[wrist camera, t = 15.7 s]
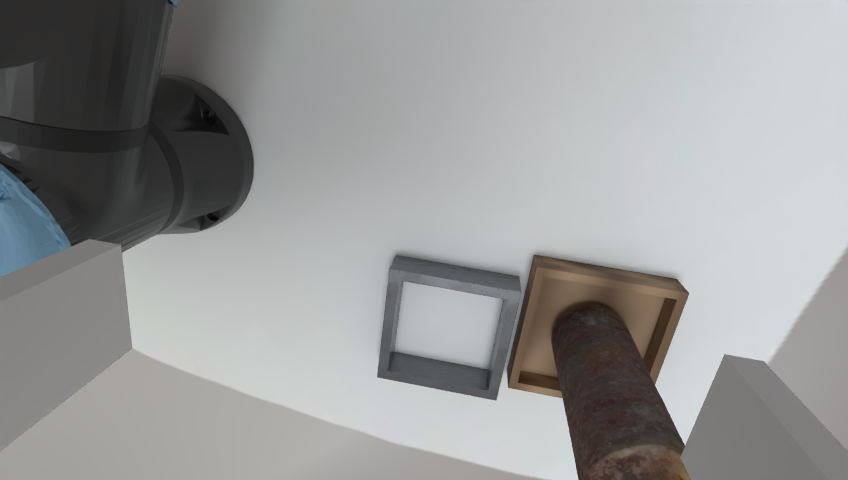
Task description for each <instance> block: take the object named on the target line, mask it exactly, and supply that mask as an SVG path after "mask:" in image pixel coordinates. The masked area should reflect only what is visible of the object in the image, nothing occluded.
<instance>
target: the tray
mask: <svg viewBox="0 0 848 480" xmlns="http://www.w3.org/2000/svg"><path fill="white" fill-rule="evenodd" d="M688 295H689V292H688V291H687V290H686V289H685V288H684V287H683V286H682V285H681V284H680V282H679V281H678V280H677V279H672V278H666V277H660V276H654V275H649V274H643V273H637V272H631V271H625V270H619V269H613V268H608V267H602V266H596V265H590V264H584V263H578V262H572V261H567V260H561V259H555V258H549V257H543V256H537V255H534V258H533V262H532V266H531V270H530V275H529V279H528V283H527V287H526V292H525V296H524V300H523V304H522V309H521V313H520V317H519V321H518V326H517V330H516V334H515V339H514V343H513V347H512V351H511V356H510V360H509V364H508V368H507V377H508V388H512V389H518V390H523V391H528V392H533V393H538V394H544V395H549V396H554V397H559V398H563V397H562V393H561V388H560V384H559V379H558V374H557V370H556V365H555V360H554V355H553V349H552V343H551V336H552V330H553V328H554V326H555V323H556V322H557V320H558V319H559V318H560V317H561V316H562V315H564V314H565V313H567V312H569V311H570V310H573V309H575V308H578V307H580V306H583V305H600V306H603V307H606V308H607V309H609V310H611V311H613V312H615V313H616V314H617V315H618V316H619V317H620V318H621V319H622V320H623V321H624V322H625V323H626V325H627V327H628V329H629V332H630V334H631V335H632V337H633V340H634V342H635V344H636V346H637V348H638V350H639V352H640V355H641V357H642V359H643V361H644V363H645V365H646V368H647V370H648V372H649V374H650V376H651V378H652V380H653V382H654V385H655V383H656V380H657V378H658V375H659V372H660V370H661V367H662V364H663V362H664V359H665V357H666V354H667V351H668V349H669V346H670V343H671V341H672V338H673V335H674V333H675V330H676V327H677V325H678V322H679V319H680V317H681V314H682V311H683V309H684V306H685V303H686V301H687V298H688Z"/></svg>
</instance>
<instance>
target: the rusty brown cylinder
mask: <svg viewBox="0 0 848 480" xmlns="http://www.w3.org/2000/svg"><path fill="white" fill-rule="evenodd" d="M551 343H552V349H553V355H554V360H555V365H556V370H557V374H558V379H559V384H560V388H561V393H562V397H563V402H564V407H565V412H566V416H567V422H568V426H569V432H570V437H571V441H572V447H573V452H574V457H575V463H576V469H577V474H578V479H579V480H691V478H690V476H689V474H688V472H687V470H686V468H685V466H684V464H683V462H682V460H681V458H680V457H681V455H682V452H683V450H684V448H685V445H684V443H683V441H682V439H681V437H680V435H679V433H678V431H677V429H676V427H675V425H674V423H673V421H672V419H671V417H670V414H669V413H668V411H667V409H666V406H665V404H664V402H663V400H662V398H661V396H660V395H659V393H658V391H657V389H656V387H655V385H654V382H653V380H652V378H651V376H650V374H649V372H648V370H647V368H646V365H645V363H644V361H643V359H642V357H641V355H640V352H639V350H638V348H637V346H636V344H635V342H634V340H633V337H632V335H631V334H630V332H629V329H628V327H627V325H626V323H625V322H624V321H623V320H622V319H621V318H620V317H619V316H618V315H617V314H616V313H615V312H613V311H611V310H609V309H607V308H606V307H603V306H600V305H583V306H580V307H578V308H575V309H573V310H570V311H569V312H567V313H565V314H564V315H562V316H561V317H560V318H559V319H558V320H557V322H556V323H555V326H554V328H553V330H552V336H551Z"/></svg>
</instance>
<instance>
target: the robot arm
mask: <svg viewBox="0 0 848 480" xmlns="http://www.w3.org/2000/svg"><path fill="white" fill-rule="evenodd" d="M177 4H178V0H0V451H1V450H2V449H4V448H5V447H6V446H8V445H9V444H10V443H11V442H13V441H14V440H15V439H17V438H18V437H19V436H20V435H21V434H23V433H24V432H26V431H27V430H28V429H29V428H31V427H32V426H33V425H35V424H36V423H37V422H38V421H40V420H41V419H42V418H43V417H45V416H46V415H47V414H49V413H50V412H51V411H52V410H54V409H55V408H56V407H58V406H59V405H60V404H61V403H63V402H64V401H65V400H67V399H68V398H69V397H70V396H72V395H73V394H74V393H75V392H77V391H78V390H79V389H81V388H82V387H83V386H84V385H86V384H87V383H88V382H90V381H91V380H92V379H94V378H95V377H96V376H97V375H99V374H100V373H101V372H102V371H104V370H105V369H106V368H108V367H109V366H110V365H112V364H113V363H114V362H115V361H117V360H118V359H119V358H121V357H122V356H123V355H124V354H126V353H127V352H128V351H129V350H131V349H132V342H131V333H130V323H129V314H128V305H127V296H126V286H125V277H124V268H123V259H122V252H123V251H125V250H127V249H129V248H131V247H133V246H135V245H137V244H139V243H141V242H143V241H145V240H147V239H149V238H150V237H152V236H154V235H157V234H183V233H194V232H199V231H203V230H206V229H209V228H211V227H213V226H215V225H217V224H219V223H220V222H222V221H224V220H226V219H227V218H229V217H230V216H232V215H233V214H234V213H235V212H236V211H237V210H238V209H239V208H240V207H241V205H242V204H243V202H244V201H245V199H246V197H247V195H248V192H249V190H250V187H251V183H252V177H253V157H252V151H251V147H250V143H249V140H248V137H247V135H246V132H245V130H244V128H243V126H242V124H241V122H240V121H239V119H238V118H237V116H236V115H235V113H234V112H233V111H232V109H231V108H230V107H229V106H228V105H227V104H226V103H225V101H223V100H222V99H221V98H220V97H219V96H218V95H217V94H215V93H214V92H213V91H211V90H210V89H208V88H207V87H205V86H203V85H201V84H200V83H197V82H195V81H193V80H190V79H187V78H183V77H178V76H160V74H161V69H162V64H163V59H164V54H165V49H166V44H167V39H168V34H169V29H170V24H171V19H172V14H173V9H174V7H177ZM680 458H681V460H682V462H683V464H684V466H685V468H686V470H687V472H688V474H689V476H690V478H691V480H848V450H847V449H846V448H845V447H844V446H843V445H842V444H841V443H840V442H839V441H838V440H837V439H836V438H835V437H834V436H833V435H832V433H831V432H830V431H829V430H828V429H827V428H826V427H825V426H824V425H823V424H822V423H821V422H820V421H819V420H818V419H817V417H816V416H815V415H814V414H813V413H812V412H811V411H810V410H809V409H808V408H807V407H806V406H805V405H804V404H803V403H802V402H801V400H800V399H799V398H798V397H797V396H796V395H795V394H794V393H793V392H792V391H791V390H790V389H789V388H788V387H787V386H786V385H785V383H784V382H782V380H781V379H780V378H779V377H778V376H777V375H776V374H775V373H774V372H773V371H772V370H771V369H770V367H769V366H768V365H767V364H766V363H765V362H764V361H759V360H753V359H748V358H742V357H737V356H731V355H726V354H724V357H723V359H722V361H721V364H720V366H719V368H718V371H717V373H716V375H715V378H714V380H713V382H712V385H711V387H710V389H709V392H708V394H707V396H706V399H705V401H704V403H703V406H702V408H701V410H700V413H699V415H698V417H697V420H696V422H695V424H694V427H693V429H692V431H691V434H690V436H689V438H688V441H687V443H686V445H685V448H684V450H683V452H682V455H681V457H680Z"/></svg>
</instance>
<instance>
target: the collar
mask: <svg viewBox="0 0 848 480" xmlns="http://www.w3.org/2000/svg"><path fill="white" fill-rule="evenodd" d="M403 281H406V282H412V283H417V284H423V285H428V286H434V287H439V288H445V289H451V290H456V291H462V292H467V293H473V294H479V295H484V296H490V297H495V298H501V299H504V301H503V305H502V310H501V315H500V319H499V324H498V328H497V333H496V338H495V342H494V347H493V351H492V356H491V361H490V365H489V370H485V369H480V368H475V367H470V366H464V365H459V364H454V363H449V362H444V361H438V360H433V359H428V358H423V357H417V356H412V355H407V354H402V353H396V352H394V348H395V340H396V332H397V324H398V317H399V309H400V301H401V293H402V285H403ZM520 296H521V287H520V280H519V277H518V276H512V275H506V274H501V273H495V272H489V271H484V270H478V269H472V268H466V267H461V266H455V265H449V264H443V263H438V262H432V261H426V260H421V259H415V258H409V257H403V256H398V255H396V257H395V259H394V261H393V263H392V265H391V267H390V271H389V279H388V288H387V296H386V305H385V314H384V322H383V331H382V340H381V348H380V357H379V366H378V374H377V377H379V378H384V379H389V380H394V381H399V382H404V383H410V384H415V385H420V386H425V387H430V388H435V389H440V390H445V391H450V392H455V393H461V394H466V395H471V396H476V397H481V398H486V399H491V400H497V395H498V391H499V387H500V382H501V378H502V374H503V369H504V365H505V361H506V356H507V352H508V348H509V343H510V339H511V335H512V330H513V326H514V322H515V317H516V313H517V309H518V304H519V300H520Z"/></svg>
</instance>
